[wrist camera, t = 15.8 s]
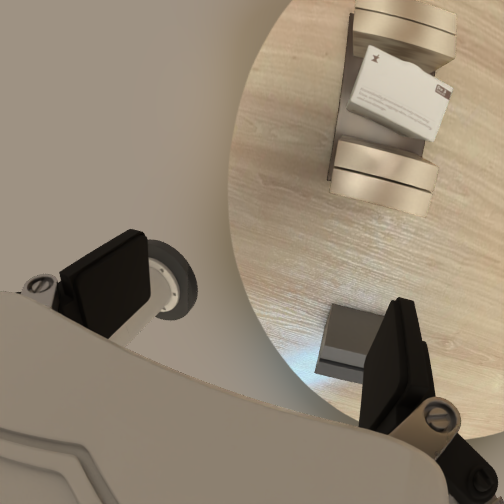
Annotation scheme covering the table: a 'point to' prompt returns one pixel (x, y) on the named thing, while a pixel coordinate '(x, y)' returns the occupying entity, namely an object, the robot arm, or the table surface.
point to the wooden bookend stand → (374, 134)
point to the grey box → (346, 343)
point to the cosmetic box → (399, 96)
